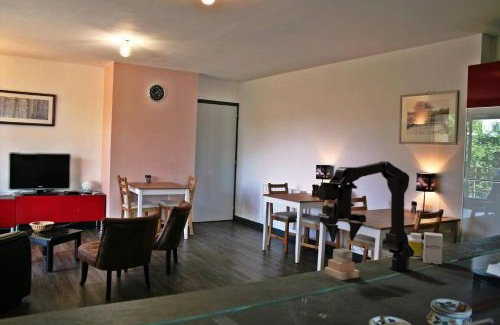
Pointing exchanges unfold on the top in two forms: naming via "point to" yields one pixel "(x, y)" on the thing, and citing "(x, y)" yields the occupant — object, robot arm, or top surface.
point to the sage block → (342, 255)
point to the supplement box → (433, 248)
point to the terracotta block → (341, 266)
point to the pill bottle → (416, 245)
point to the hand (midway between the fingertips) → (342, 241)
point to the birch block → (342, 274)
